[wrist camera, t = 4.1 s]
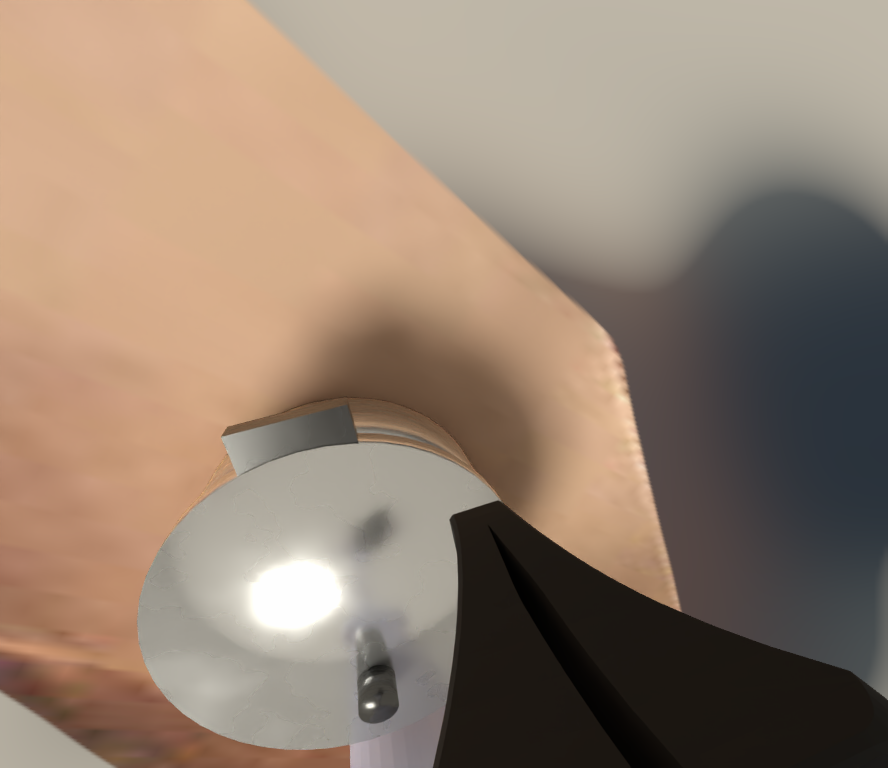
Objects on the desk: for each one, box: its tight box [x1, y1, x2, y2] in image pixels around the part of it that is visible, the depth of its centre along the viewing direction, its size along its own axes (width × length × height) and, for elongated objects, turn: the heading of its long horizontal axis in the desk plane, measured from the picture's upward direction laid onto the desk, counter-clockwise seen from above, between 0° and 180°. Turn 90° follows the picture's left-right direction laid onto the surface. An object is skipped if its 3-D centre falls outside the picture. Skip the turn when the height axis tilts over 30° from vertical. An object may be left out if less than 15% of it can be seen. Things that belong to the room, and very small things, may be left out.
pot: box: [204, 398, 474, 491], centre depth 19 cm, size 15×14×4 cm
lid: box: [137, 397, 503, 750], centre depth 16 cm, size 16×15×2 cm
